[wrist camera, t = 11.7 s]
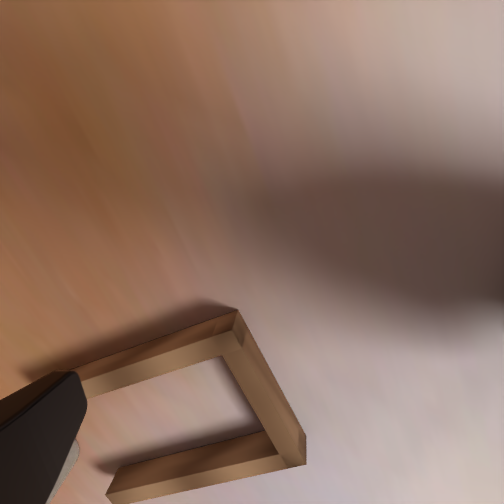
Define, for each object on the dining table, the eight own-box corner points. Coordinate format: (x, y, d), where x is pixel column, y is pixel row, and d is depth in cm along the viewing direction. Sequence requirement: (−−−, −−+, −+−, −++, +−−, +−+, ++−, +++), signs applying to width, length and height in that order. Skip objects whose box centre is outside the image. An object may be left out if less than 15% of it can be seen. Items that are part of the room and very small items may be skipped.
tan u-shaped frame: (238, 309, 21) (231, 329, 19) (306, 435, 23) (306, 464, 22) (49, 377, 24) (28, 399, 22) (127, 479, 27) (114, 506, 25)
